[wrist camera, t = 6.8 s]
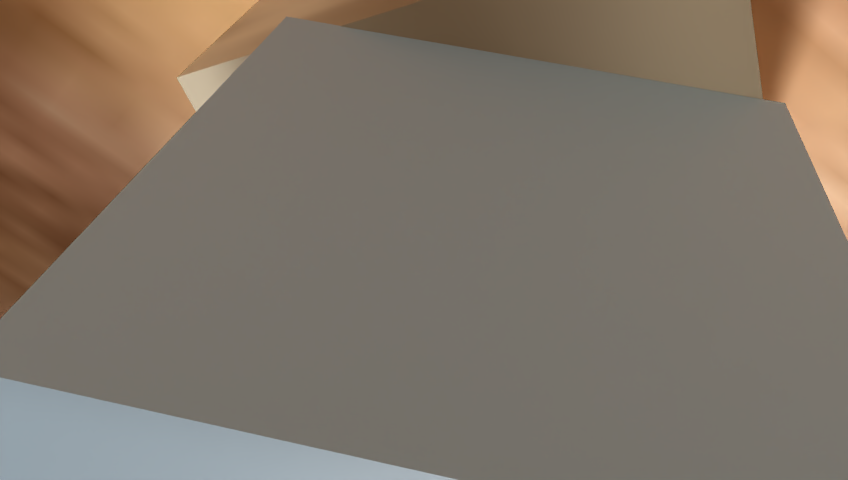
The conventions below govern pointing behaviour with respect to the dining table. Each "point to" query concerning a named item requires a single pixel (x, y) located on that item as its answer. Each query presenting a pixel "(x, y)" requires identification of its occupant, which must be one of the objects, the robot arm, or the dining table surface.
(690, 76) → the birch block
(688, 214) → the blue cube
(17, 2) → the dining table surface
